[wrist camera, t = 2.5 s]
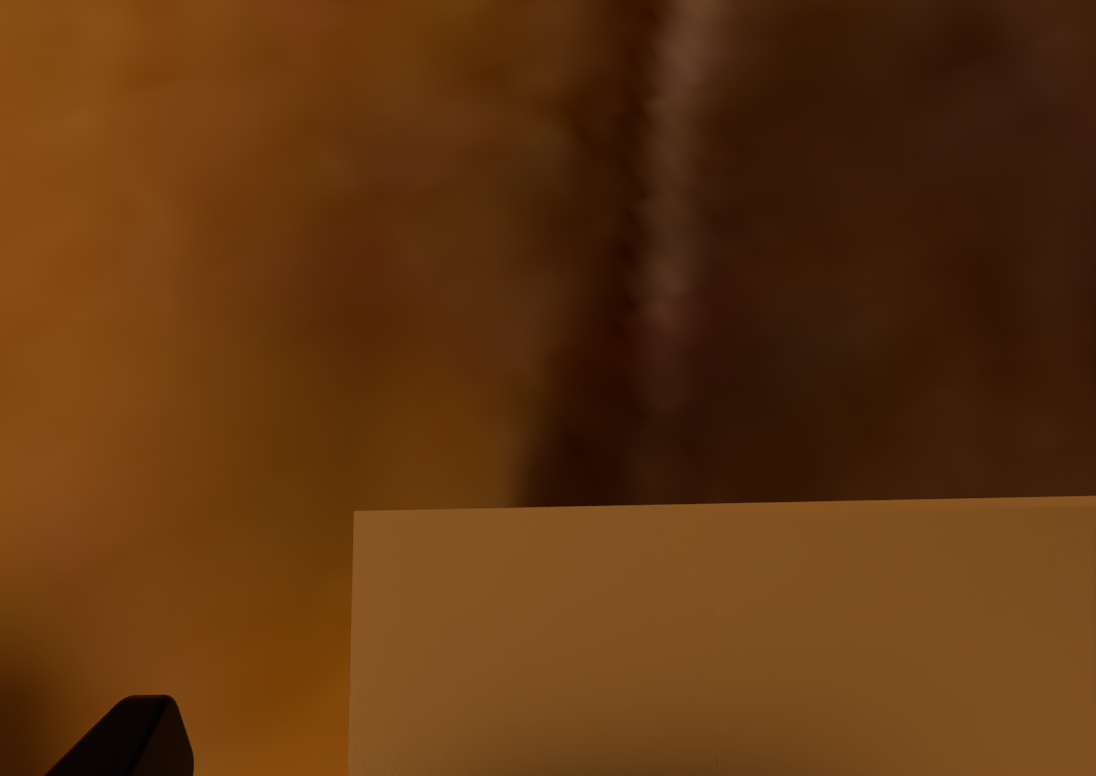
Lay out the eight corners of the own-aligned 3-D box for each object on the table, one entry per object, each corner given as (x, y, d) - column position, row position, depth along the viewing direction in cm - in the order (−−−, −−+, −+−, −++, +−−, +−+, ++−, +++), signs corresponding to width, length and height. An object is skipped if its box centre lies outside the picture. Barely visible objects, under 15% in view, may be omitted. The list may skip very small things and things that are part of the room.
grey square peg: (750, 839, 16) (1367, 1531, 4) (492, 844, 16) (328, 1557, 4) (734, 577, 16) (1194, 494, 5) (490, 582, 16) (354, 511, 5)
